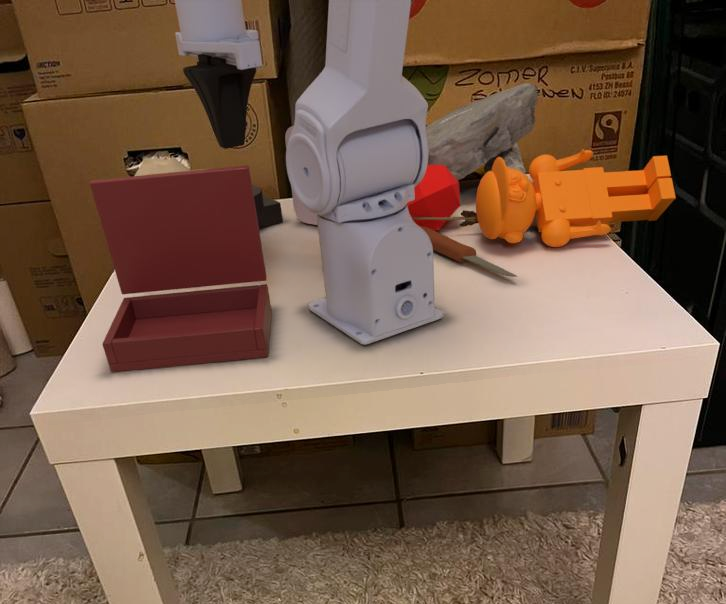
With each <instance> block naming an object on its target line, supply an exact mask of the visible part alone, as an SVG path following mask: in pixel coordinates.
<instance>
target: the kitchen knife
mask: <svg viewBox="0 0 726 604" xmlns="http://www.w3.org/2000/svg"><path fill="white" fill-rule="evenodd" d="M419 227H421V228H422V229H423V230H424V231H425V232H426V233H427V235H428V236H429V238H430V240H431V243H432V247H433V251H435V252H437V253H439V254H441V255H443V256H446V257H448V258H449V259H452V260H454V261H457V262H458V263H468V262H471V263H473V264H475V265H477V266H479V267H483V269H484V268H485V269H487V270H489V271H492V272H494V273H496V274H499V275H501V276H505V277H512V278H517V277H518V275H516V274H515V273H512V272H510V271H509V270H506V269H504V268H502V267H500V266H499V265H496V264H494V263H492V262H490V261H488V260H486V259H483V258H481V257H479V256H477V251H476V249H475V248H474V247H472V246H469V245H466V244H465V243H461V242H459V241H457V240H455V239H453V238H450V237H449V236H446V235H444V234H443V233H441V232H439V231H437V230H432V229H429V228H426V227H422V226H419Z"/></svg>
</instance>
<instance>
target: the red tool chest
mask: <svg viewBox="0 0 726 604" xmlns="http://www.w3.org/2000/svg"><path fill="white" fill-rule="evenodd" d="M269 293H270V291H269V286H268V284H267V283H265V284H254V285H243V286H234V287H221V288H212V289H201V290H190V291H181V292H170V293H160V294H149V295H139V296H129V297H123V298H122V301H121V302H120V305H119V307H118V309H117V311H116V314H115V316H114V317H113V320H112V322H111V325H110V327H109V328H108V331H107V333H106V335H105V337H104V338H103V339H104V340H103V342H102V347H103V351H104V354H105V357H106V361H107V363H108V366H109V367H108V368H109V371H110V372H111V373H115V372H116V373H117V372H127V371H135V370H137V371H138V370H147V369H157V368H166V367H178V366H189V365H198V364H200V365H201V364H208V363H219V362H229V361H239V360H251V359H260V358H261V359H262V358H268V356H269V346H270V345H269V344H270V335H271V334H270V333H271V323H272V322H271V321H272V305H271V298H270V294H269Z"/></svg>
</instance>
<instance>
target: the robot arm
mask: <svg viewBox="0 0 726 604" xmlns="http://www.w3.org/2000/svg"><path fill="white" fill-rule="evenodd" d="M174 5H175V10H176V15H177V21H178V26H179V31H178V32H177V31H176V32H175V33H174V36H175V41H176V45H177V52H178V55H179V56H180V57H187V56H192V57H196V58H197V60H198V61H196V64H195V65H190V66H189V65H188V66H184V67H183V68H182V71H183V75H184V77H186V80H188V83H190V85H191V86H192V87H193V89H194V91H195V93H196V95H197V96H198V98H199V101H200V102H201V104H202V106H203V108H204V111H205V113H206V116H207V118H208V120H209V123H210V126H211V129H212V131H213V134H214V137H215V139H216V141H217V143H218V145H219V147H220V148H222V149H225V150H227V149H232V148H238V147H242V146H245V141H246V132H247V131H246V129H247V114H248V113H247V112H248V102H249V99H250V97H249V96H250V92H251V88H252V85H253V81H254V78H255V76H256V73H257V68H260V67H263V60H262V52H261V43H260V40H259V38H260V37H259V30H255V29H246V23H245V22H246V21H245V16H244V9H243V2H242V0H174ZM411 6H412V0H328V12H327V29H326V44H325V45H326V46H325V47H326V48H325V63H324V64H325V65H324V68H323V69H322V71H321V72H319V75H318V76H317V77H316V78H315V79H314V80H313V81H312V82H311V84H310V85H308V86H307V88H306V89H305V90H304V91H303V93H302V94H301V95H300V97H298V98H297V100H296V102H295V105H294V106H295V107H294V123H293V126H294V127H293V131H292V133H291V135H290V138H289V141H288V145H287V149H286V150H285V166H286V173H287V177H288V181H289V183H290V187H291V186H292V189H293V191H294V193H295V195H296V196H297V198H298V199H299V201H300V202H301V203H302V204H303V205H304V206H305V207H306V208H307V209H308V211H309V212H311V213H314V214H316V215H317V223H318V225H317V230H318V241H319V248H320V249H319V250H320V258H321V265H322V268H321V269H322V276H323V282H324V283H323V284H324V285H323V287H324V295H325V297H324V298H321V299H316V300H314V301H311V302H309V303H308V304H307V309H308V310H309V311H311V312H312V313H314V314H315V315H317V316H318V317H319V318H321V319H323V320H325V321H326V322H327V323H329V324H330V325H332V326H333V327H335V328H336V329H338V330H339V331H341V332H343V333H344V334H346V335H347V336H348V337H350V338H352V339H353V340H355V342H358V344H361V345H370V344H372V343H376V342H379V341H381V340H384V339H386V338H387V339H388V338H390V337H392V336H395V335H398V334H401V333H403V332H407V331H410V330H412V329H415V328H418V327H421V326H424V325H426V324H429V323H432V322H435V321H439V320H441V319H443V318H444V312H443V310H441V309H439V308H437V307H435V269H434V250H433V247H432V243H431V240H430V238H429V236H428V235H427V233H426V232H425V231H424V230H423V229H422V228H421V227H419V226H418V225H417V224H416V223H415V222H414V221H413V219H412V217H411V216H410V214H409V210H408V206H407V203H408V202H410V201H413V200H414V199H415V191H414V187H415V186H417V185H418V184H419V183H420V182H421V181H422V179H423V177H424V175H425V172H426V169H427V164H428V141H427V137H426V126H427V115H428V108H429V104H428V102H427V100H426V99H425V97H424V96H423V95H422V93H421V92H420V90H418V88H417V87H416V86H415V85H414V84H412V83H411V82H410V80H408V79H407V78H406V77H404V75H403V68H404V60H405V55H406V54H405V53H406V45H407V37H408V29H409V21H410V14H411ZM292 189H291V190H292Z"/></svg>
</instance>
